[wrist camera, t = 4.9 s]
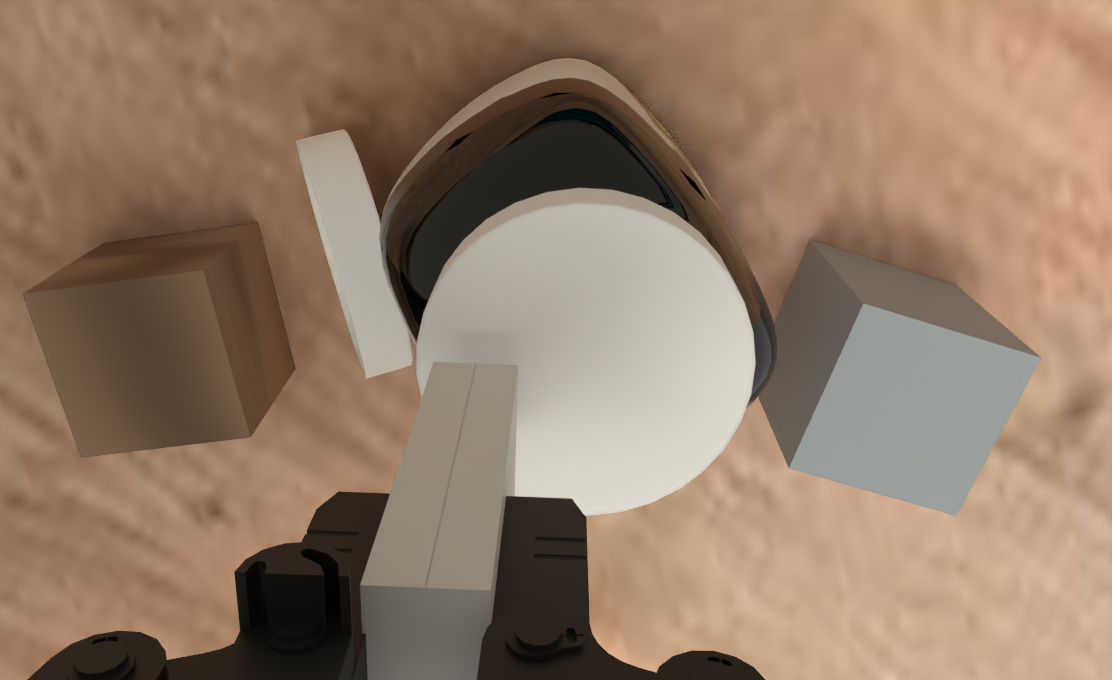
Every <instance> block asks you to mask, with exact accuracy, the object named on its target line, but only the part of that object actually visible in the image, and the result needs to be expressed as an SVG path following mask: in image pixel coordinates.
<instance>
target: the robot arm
mask: <svg viewBox="0 0 1112 680" xmlns="http://www.w3.org/2000/svg"><path fill="white" fill-rule="evenodd" d="M517 393H518V365H506V364H481V363H456V362H433V365H432V368H431V371H430V374H429V377H428V380H427V383H426V386H425V389H424V392H423V395H422V398H421V401H420V404H419V407H418V411H417V414H416V417H415V420H414V423H413V426H412V429H411V432H410V435H409V438H408V441H407V444H406V447H405V450H404V453H403V456H402V459H401V462H400V465H399V468H398V471H397V474H396V477H395V480H394V483H393V486H392V489H391V493H390V494H384V493H359V492H337V493H336V494H335V495H334V496H332V497H331V498H330V499H329V500H328V501H326V502H325V503H324V504H323V505H321V506H320V507H319V508H318V509H316V512H315V514H314V516H313V518H312V520H311V523H310V525H309V527H308V529H307V534H305V536H304V538H303V540H302V542H301V543H286V544H281V545H278V546H274V547H271V548H267V549H264V550H262V551H260V552H258V553H256V554H255V555H253V556H251V557H249V558H248V559H246V560H245V561H244V562H243V563H242V564H241V565H240V567H239V568H238V569H237V570H236V571H235V582H236V592H237V602H238V612H239V623H240V633H239V635H238V637H237V639H236V641H235V643H234V644H232V645H230V646H227V647H225V648H222V649H219V650H215V651H211V652H207V653H203V654H198V655H192V656H187V657H181V658H176V659H170V660H166V652H165V649H164V648H163V647H162V646H161V644H160V643H159V642H158V640H157V639H155V638H153V637H150V636H148V635H146V634H143V633H141V632H129V631H114V632H109V633H103V634H97V635H93V636H91V637H88V638H86V639H83V640H80V641H78V642H75V643H73V644H71V645H69V646H68V647H66V648H65V649H63V650H62V651H61V652H59V653H58V654H56V655H55V656H53V657H52V658H51V659H50V660H48V661H47V662H46V663H45V664H44V665H43V666H42V667H41V668H40V669H39V670H37V671H36V672H35V673H34V674H33V675H32V676H31V677H30V678H29V679H27V680H765V679H764V678H763V677H762V676H761V674H760V673H759V672H758V671H757V670H756V669H755V668H754V667H752V666H750V665H749V664H747V663H745V662H743V661H742V660H740V659H738V658H737V657H734V656H730V655H727V654H723V653H719V652H716V651H689V652H686V653H682V654H679V655H675V656H673V657H671V658H670V659H669V660H667V661H666V662H665V663H663V664H662V665H661V666H660V667H659V669H658V671H657V673H655V672H652V671H648V670H645V669H641V668H638V667H635V666H632V665H630V664H627V663H624V662H622V661H620V660H618V659H617V658H615V657H613V656H612V655H610V654H608V653H607V652H606V651H605V650H604V649H603V648H602V647H601V646H600V645H599V644H598V643H597V641H596V639H595V638H594V636H593V634H592V632H591V627H590V623H589V592H588V560H587V528H586V517H585V515H584V514H583V513H582V511H581V510H580V509H579V507H578V506H577V505H576V503H575V502H574V501H573V499H571V498H546V497H520V496H515V469H516V431H517Z"/></svg>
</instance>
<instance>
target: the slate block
mask: <svg viewBox="0 0 1112 680" xmlns="http://www.w3.org/2000/svg"><path fill="white" fill-rule="evenodd" d="M774 328H775V332H776V337H777V358H776V364H775V366H774V369H773V373H772V375H771V377H770V379H769V381H768V382H767V384H766V386H765V388H764V389H763V390H762V391H761V393H760V394H759V395H758V397H759V400H760V402H761V404H762V407H763V409H764V411H765V414H766V416H767V418H768V421H769V423H770V425H771V428H772V430H773V432H774V435H775V437H776V439H777V442H778V444H779V446H780V449H781V451H782V453H783V456H784V458H785V460H786V463H787V465H788V467H789V468H790V469H794V470H797V471H801V472H804V473H808V474H811V475H815V476H818V477H822V478H825V479H829V480H832V481H836V482H839V483H843V484H846V485H850V486H853V487H857V488H860V489H864V490H867V491H871V492H874V493H878V494H881V495H885V496H888V497H892V498H895V499H899V500H902V501H906V502H909V503H913V504H916V505H920V506H923V507H927V508H930V509H934V510H937V511H941V512H944V513H948V514H951V515H955V516H957V514H958V512H959V510H960V508H961V506H962V504H963V502H964V501H965V499H966V497H967V495H968V493H969V491H970V489H971V488H972V486H973V484H974V482H975V480H976V478H977V476H978V475H979V473H980V471H981V469H982V467H983V465H984V463H985V461H986V460H987V458H988V456H989V454H990V452H991V450H992V448H993V447H994V445H995V443H996V441H997V439H998V437H999V435H1000V433H1001V432H1002V430H1003V428H1004V426H1005V424H1006V422H1007V420H1008V419H1009V417H1010V415H1011V413H1012V411H1013V409H1014V407H1015V405H1016V404H1017V402H1018V400H1019V398H1020V396H1021V394H1022V392H1023V391H1024V389H1025V387H1026V385H1027V383H1028V381H1029V379H1030V377H1031V376H1032V374H1033V372H1034V370H1035V368H1036V366H1037V364H1038V363H1039V361H1040V359H1041V357H1040V356H1039V355H1037V354H1036V353H1035V352H1034V351H1033V350H1031V349H1030V348H1029V347H1028V346H1027V345H1026V344H1024V343H1023V342H1022V341H1021V340H1020V339H1019V338H1017V337H1016V336H1015V335H1014V334H1013V333H1012V332H1010V331H1009V330H1008V329H1007V328H1006V327H1005V326H1003V325H1002V324H1001V323H1000V322H999V321H998V320H996V319H995V318H994V317H993V316H992V315H991V314H989V313H988V312H987V311H986V310H985V309H984V308H982V307H981V306H980V305H979V304H978V303H977V302H975V301H974V300H973V299H972V298H971V297H970V296H968V295H967V294H966V293H965V292H964V291H963V290H961V289H960V288H959V287H958V286H957V285H954V284H951V283H948V282H944V281H941V280H938V279H935V278H932V277H928V276H925V275H922V274H919V273H915V272H912V271H909V270H906V269H903V268H899V267H896V266H893V265H890V264H887V263H883V262H880V261H877V260H874V259H870V258H867V257H864V256H861V255H858V254H854V253H851V252H848V251H845V250H841V249H838V248H835V247H832V246H829V245H825V244H822V243H819V242H816V241H812V240H809V243H808V245H807V247H806V250H805V252H804V254H803V257H802V259H801V262H800V264H799V266H798V269H797V271H796V273H795V276H794V278H793V281H792V283H791V285H790V288H789V290H788V293H787V295H786V297H785V300H784V302H783V304H782V307H781V309H780V312H779V314H778V316H777V319H776V321H775V323H774Z"/></svg>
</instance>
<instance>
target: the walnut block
mask: <svg viewBox="0 0 1112 680" xmlns="http://www.w3.org/2000/svg"><path fill="white" fill-rule="evenodd" d="M23 297H24V299H25V302H26V305H27V308H28V311H29V313H30V316H31V319H32V322H33V325H34V327H35V330H36V333H37V336H38V339H39V341H40V344H41V347H42V350H43V353H44V355H45V358H46V361H47V364H48V367H49V370H50V372H51V375H52V378H53V381H54V384H55V386H56V389H57V392H58V395H59V398H60V400H61V403H62V406H63V409H64V412H65V414H66V417H67V420H68V423H69V426H70V428H71V431H72V434H73V437H74V440H75V442H76V445H77V448H78V451H79V454H80V456H81V457H90V456H98V455H107V454H115V453H123V452H132V451H140V450H148V449H157V448H165V447H173V446H182V445H190V444H198V443H207V442H215V441H224V440H232V439H240V438H249V437H251V436H252V434H253V433H254V431H255V430H256V428H257V426H258V425H259V423H260V422H261V420H262V419H263V417H264V416H265V414H266V413H267V411H268V410H269V408H270V407H271V405H272V404H273V402H274V400H275V399H276V397H277V396H278V394H279V393H280V391H281V390H282V388H283V387H284V385H285V384H286V382H287V381H288V379H289V377H290V376H291V374H292V373H293V371H294V370H295V365H294V361H293V358H292V354H291V350H290V346H289V342H288V338H287V334H286V330H285V326H284V322H283V318H282V315H281V311H280V307H279V303H278V299H277V295H276V291H275V287H274V283H273V279H272V275H271V272H270V268H269V264H268V260H267V256H266V252H265V248H264V244H263V240H262V236H261V232H260V229H259V225H258V223H250V224H243V225H235V226H228V227H220V228H213V229H205V230H198V231H190V232H183V233H175V234H168V235H160V236H153V237H145V238H138V239H130V240H123V241H115V242H108V243H103V244H101V245H100V246H98V247H96V248H95V249H93V250H92V251H90V252H88V253H87V254H85V255H84V256H82V257H80V258H79V259H77V260H76V261H74V262H72V263H71V264H69V265H68V266H66V267H65V268H63V269H61V270H60V271H58V272H57V273H55V274H53V275H52V276H50V277H49V278H47V279H45V280H44V281H42V282H41V283H39V284H37V285H36V286H34V287H33V288H31V289H29V290H28V291H26V292H25V293H23Z"/></svg>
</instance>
